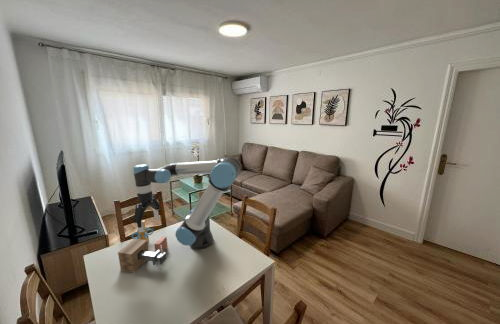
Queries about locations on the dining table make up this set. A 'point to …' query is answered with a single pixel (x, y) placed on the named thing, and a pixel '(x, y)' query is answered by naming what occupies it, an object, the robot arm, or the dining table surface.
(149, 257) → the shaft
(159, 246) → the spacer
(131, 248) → the block
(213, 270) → the dining table surface
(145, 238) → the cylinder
